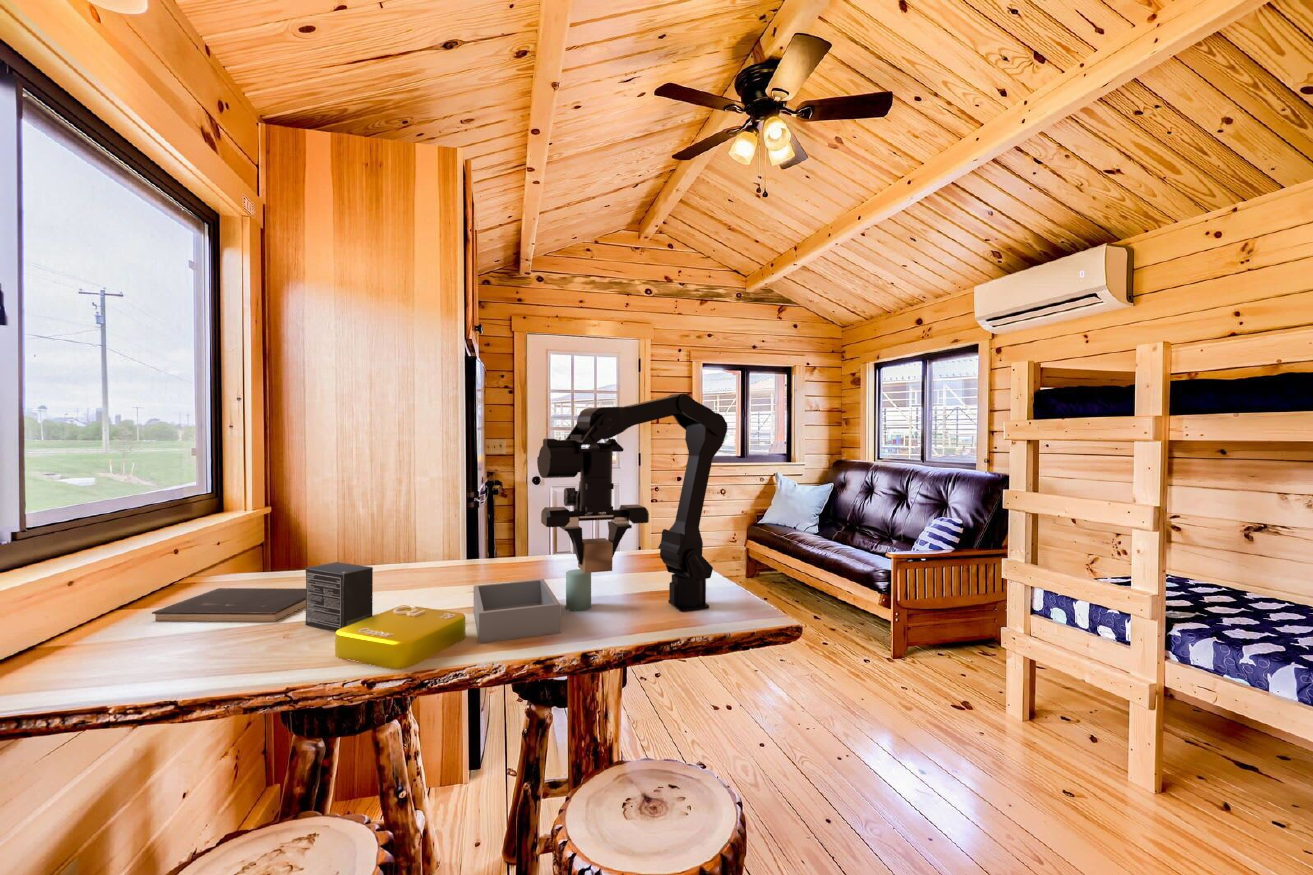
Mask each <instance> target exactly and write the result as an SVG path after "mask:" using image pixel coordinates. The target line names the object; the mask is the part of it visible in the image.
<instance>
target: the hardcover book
mask: <svg viewBox="0 0 1313 875" xmlns="http://www.w3.org/2000/svg"><path fill="white" fill-rule="evenodd" d="M303 608H306V588H294V587H293V588H289V587H288V588H286V587H285V588H279V587H278V588H269V587H267V588H266V587H265V588H264V587H262V588H261V587H260V588H259V587H258V588H257V587H256V588H255V587H254V588H253V587H252V588H251V587H248V588H247V587H246V588H245V587H228V588H227V587H218V588H216V589H213V590H210V591H207V592H204V593H202V594H201V593H200V594H199V595H196V596H193V597H191V598H187V599H185V600H182V601H179V602H177V603H174V604H172V605H169V606H168V605H167V606H165V607H163V608H160V609H158V610H154V611H152V612H151V614H152V615H155V621H167V622H168V621H170V622H172V621H177V622H179V621H180V622H181V621H185V622H186V621H187V622H196V621H197V622H276V620H277V621H279V620H280V619H279V618H281V619H282V618H284V616H285V617H287V616H288V615H287V614H289V615H291V614H294V613H295V612H297V611H299V610H302V609H303ZM298 609H299V610H298ZM294 611H295V612H294ZM286 615H287V616H286ZM278 619H279V620H278Z"/></svg>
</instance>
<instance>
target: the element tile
mask: <svg viewBox="0 0 1313 875" xmlns="http://www.w3.org/2000/svg"><path fill="white" fill-rule="evenodd" d="M465 639H466V615H465V614H464V613H462V612H457V611H450V610H449V611H448V610H443V609H435V608H429V607H422V606H415V605H408V604H407V605H406V604H405V605H404V604H403V605H399V606H396V607H394V608H390V609H388V610H386V611H383V612H380V613H378V614H375V615H373V616H372V617H369V618H367V619H364V620H362V621H359V622H356V623H354V624H351V625H348V626H346V627H343V628H340V629H338V630H337V631H335V633H334V643H335V644H334V651H335V652H334V653H335V654H334V656H335V658H337V657H338V658H337V659H340V658H342V659H341V660H345V659H350V660H355V661H359V662H362V663H361V664H364V663H365V665H369V664H371V665H370V666H374V665H375V667H379V666H380V668H385V669H389V668H390V669H389V670H404V669H409V668H412V667H415V666H416V665H418V664H420V663H422V662H423V661H426V660H427V659H429V658H432V657H433V656H436V655H437V654H439V653H441V652H443V651H445V650H446V649H449V648H450V647H453V646H454V645H456V644H458V643H460V642H462V641H464V640H465ZM425 659H426V660H425ZM359 662H358V663H359Z"/></svg>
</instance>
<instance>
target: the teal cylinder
mask: <svg viewBox="0 0 1313 875" xmlns="http://www.w3.org/2000/svg"><path fill="white" fill-rule="evenodd" d="M565 608H566V610H567V611H571V612H584V611H588V610H590V609H592V573H584V572H583V571H582V570H581V569H580V568H579V569H577V568H576V569H571V570H568V571H566V572H565Z"/></svg>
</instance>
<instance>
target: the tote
mask: <svg viewBox="0 0 1313 875" xmlns="http://www.w3.org/2000/svg"><path fill="white" fill-rule="evenodd" d="M473 614H474V621H475V626H476V632H477V639H478V643H479V644H484V643H485V644H486V643H492V642H493V643H494V642H499V641H508V640H514V639H522V638H531V637H538V636H546V635H553V634H561V603H560V601H559V600H558V598H557V597H556V595H555V594H554V592H553V590H551V588H550V586H549V585H548V584H547V582H546V581H545V579H543V578H542V579H539V578H538V579H530V580H520V581H519V580H518V581H507V582H498V583H486V584H476V585H475V584H474V585H473Z"/></svg>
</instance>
